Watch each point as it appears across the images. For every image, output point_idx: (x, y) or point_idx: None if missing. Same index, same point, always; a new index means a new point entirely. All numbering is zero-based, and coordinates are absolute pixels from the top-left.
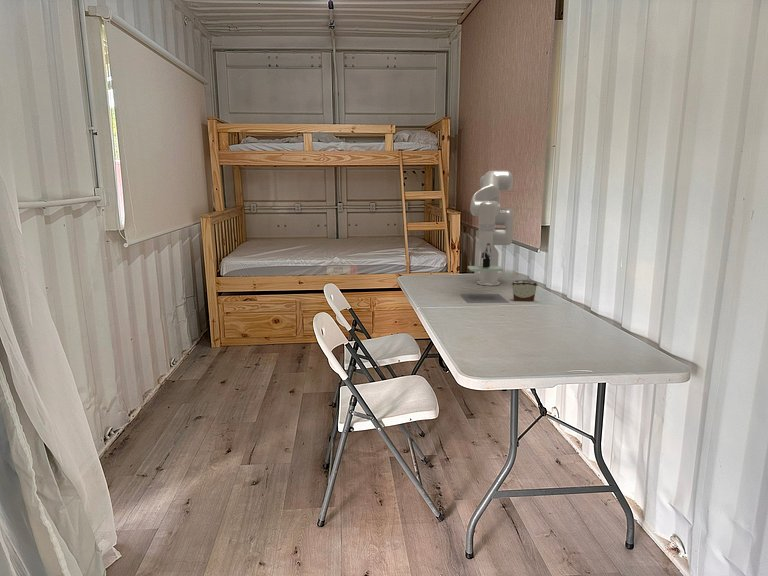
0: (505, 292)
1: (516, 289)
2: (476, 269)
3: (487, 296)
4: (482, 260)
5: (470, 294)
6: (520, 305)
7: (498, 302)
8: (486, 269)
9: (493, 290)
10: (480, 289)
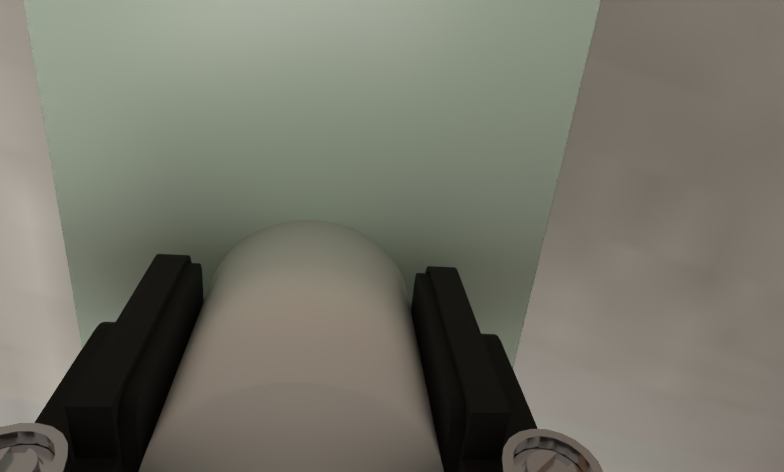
0: (583, 382)
1: None
2: (28, 18)
3: None
4: (214, 355)
5: None
6: (50, 358)
7: None
8: (78, 281)
9: (692, 315)
10: (781, 219)
